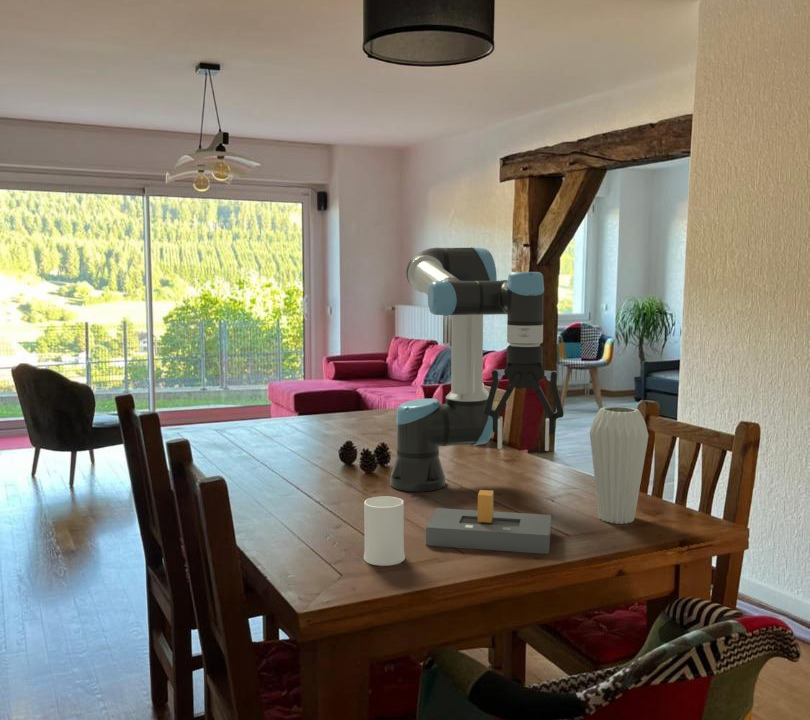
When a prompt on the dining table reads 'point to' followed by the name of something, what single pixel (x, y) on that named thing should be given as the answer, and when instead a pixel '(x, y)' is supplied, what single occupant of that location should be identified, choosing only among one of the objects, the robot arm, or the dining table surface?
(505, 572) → the dining table surface
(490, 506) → the toggle
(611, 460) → the vase
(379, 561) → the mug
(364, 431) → the dining table surface
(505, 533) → the panel
